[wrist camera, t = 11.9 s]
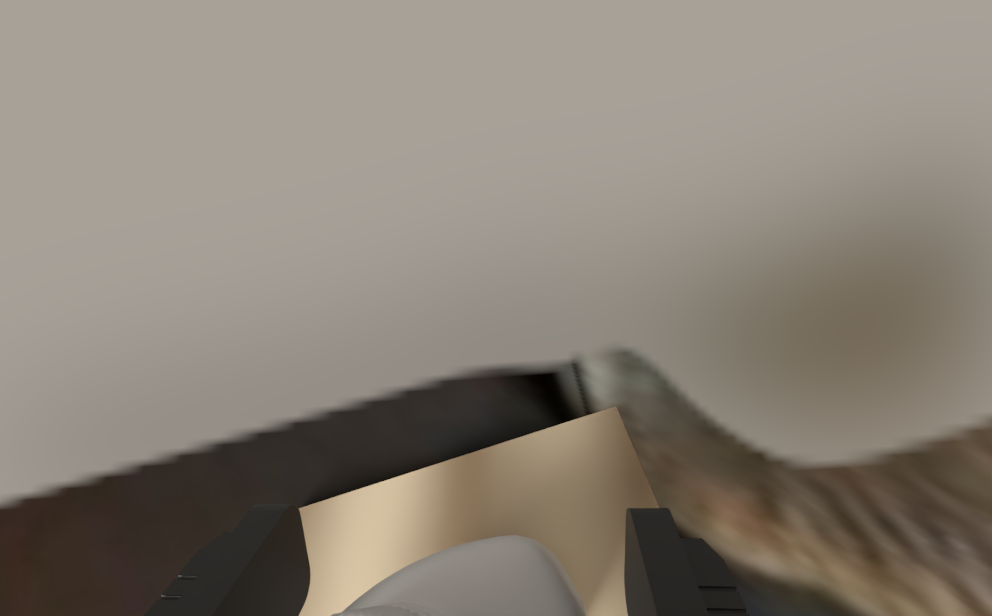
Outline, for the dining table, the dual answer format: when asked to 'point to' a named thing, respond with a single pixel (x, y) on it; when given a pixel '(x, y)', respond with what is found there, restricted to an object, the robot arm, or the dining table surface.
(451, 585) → the eye dropper bottle
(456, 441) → the dining table surface
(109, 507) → the dining table surface
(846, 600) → the dining table surface
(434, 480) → the oak board
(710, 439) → the dining table surface
